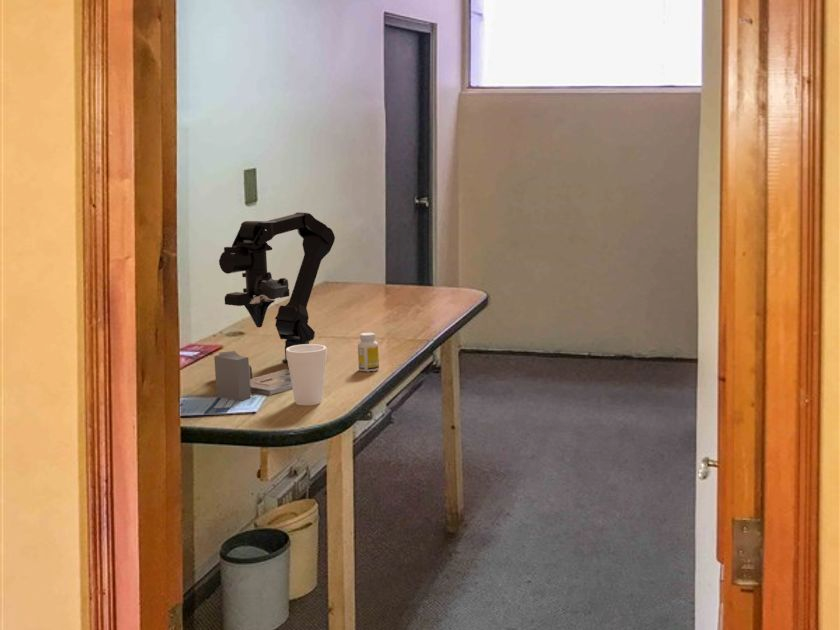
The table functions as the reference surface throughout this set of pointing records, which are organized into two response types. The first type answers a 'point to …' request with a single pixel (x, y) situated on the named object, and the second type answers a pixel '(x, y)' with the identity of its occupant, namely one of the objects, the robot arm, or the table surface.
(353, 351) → the table surface
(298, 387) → the foam cup
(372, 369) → the supplement bottle
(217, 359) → the post
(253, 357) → the table surface
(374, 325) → the table surface
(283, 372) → the panel
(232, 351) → the bar
